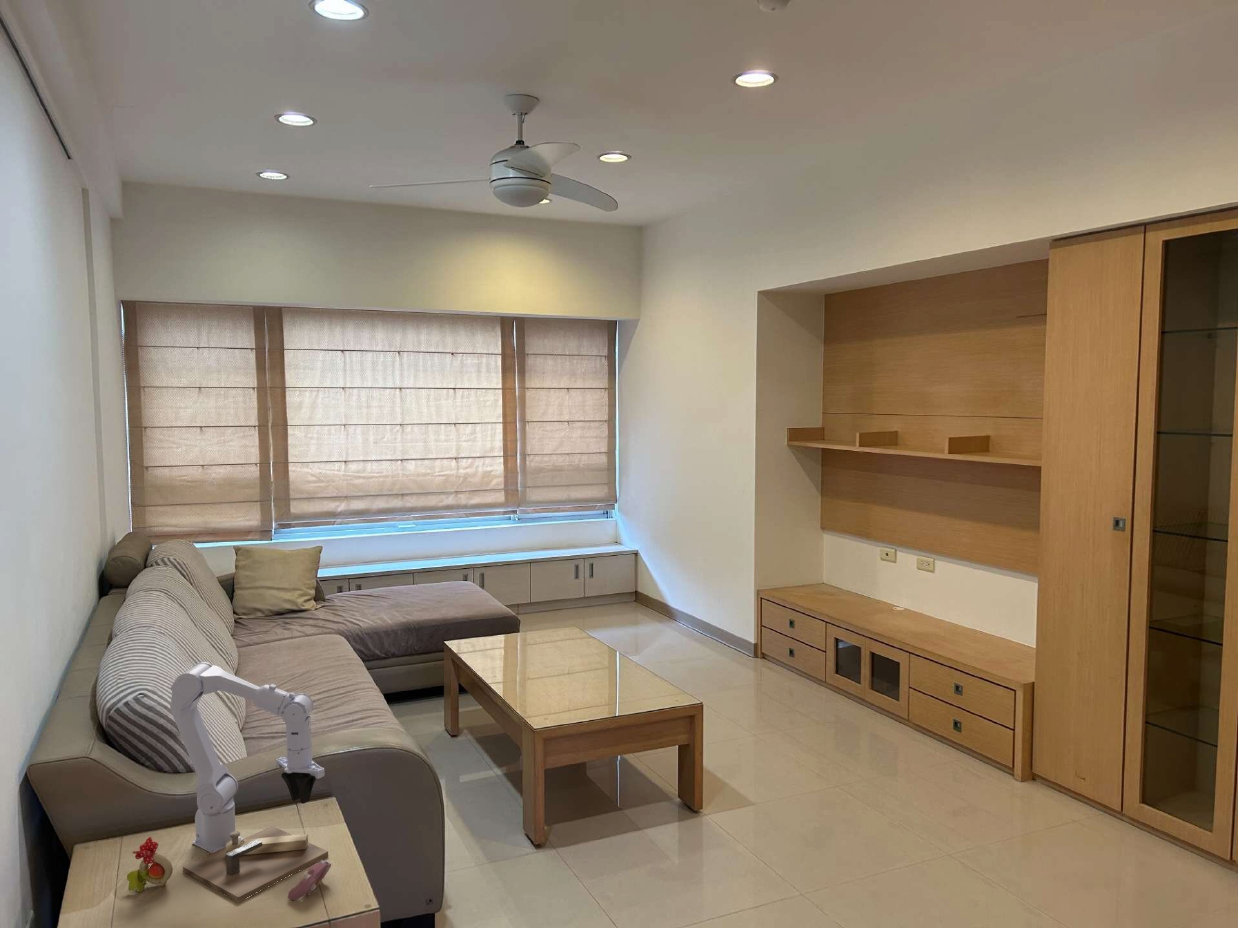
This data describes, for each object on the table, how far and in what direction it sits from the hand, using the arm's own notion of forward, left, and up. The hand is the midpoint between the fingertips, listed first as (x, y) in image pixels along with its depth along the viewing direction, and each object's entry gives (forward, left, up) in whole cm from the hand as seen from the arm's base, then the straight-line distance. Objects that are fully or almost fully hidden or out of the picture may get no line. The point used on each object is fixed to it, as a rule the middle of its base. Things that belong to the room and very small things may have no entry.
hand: (300, 800), depth 214 cm
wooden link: (-1, -9, -9) cm, 12 cm away
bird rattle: (-11, -31, -11) cm, 34 cm away
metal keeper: (+1, -16, -9) cm, 18 cm away
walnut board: (0, -12, -10) cm, 16 cm away
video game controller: (+20, -12, -11) cm, 25 cm away
